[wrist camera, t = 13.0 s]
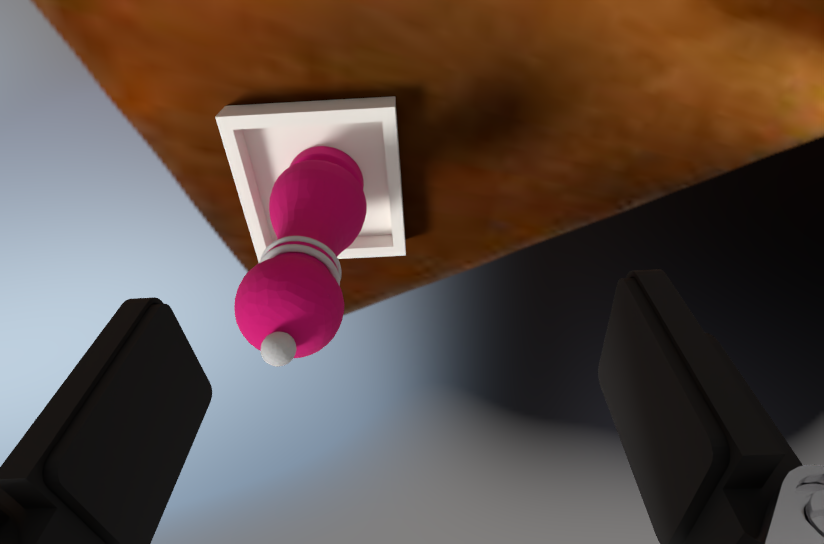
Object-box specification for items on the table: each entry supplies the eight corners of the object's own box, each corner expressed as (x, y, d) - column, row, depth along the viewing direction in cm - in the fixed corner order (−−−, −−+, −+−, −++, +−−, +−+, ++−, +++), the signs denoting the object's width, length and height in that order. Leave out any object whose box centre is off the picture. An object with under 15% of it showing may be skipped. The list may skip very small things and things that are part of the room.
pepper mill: (280, 134, 37) (188, 300, 21) (372, 144, 38) (351, 313, 22) (283, 214, 42) (209, 402, 26) (366, 222, 42) (345, 411, 26)
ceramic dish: (395, 96, 36) (394, 106, 34) (405, 239, 44) (405, 255, 42) (225, 105, 37) (215, 117, 35) (265, 246, 44) (259, 262, 42)
